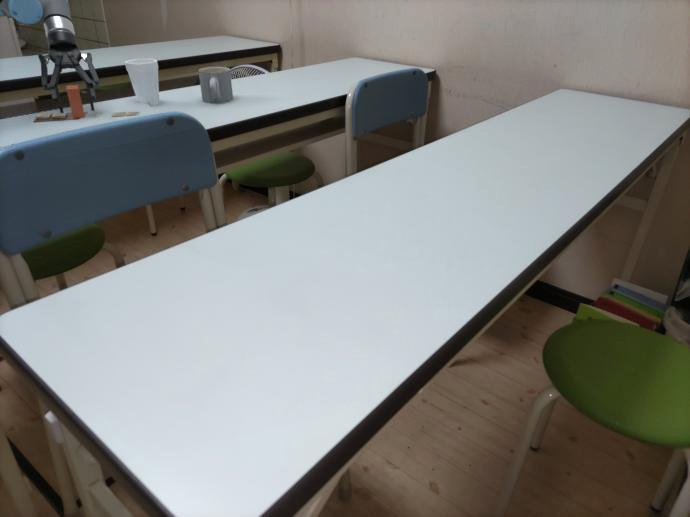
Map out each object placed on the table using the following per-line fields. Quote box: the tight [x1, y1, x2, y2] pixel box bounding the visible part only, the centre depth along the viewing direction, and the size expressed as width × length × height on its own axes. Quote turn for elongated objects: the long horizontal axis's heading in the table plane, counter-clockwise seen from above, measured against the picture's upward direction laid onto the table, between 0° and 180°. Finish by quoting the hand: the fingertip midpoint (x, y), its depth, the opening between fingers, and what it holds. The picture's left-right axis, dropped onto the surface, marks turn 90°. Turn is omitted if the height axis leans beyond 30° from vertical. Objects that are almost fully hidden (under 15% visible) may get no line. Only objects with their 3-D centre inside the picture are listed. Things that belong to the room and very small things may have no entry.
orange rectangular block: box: [65, 84, 86, 119], centre depth 144 cm, size 3×5×8 cm, turn 26°
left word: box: [33, 111, 89, 123], centre depth 145 cm, size 13×8×2 cm, turn 106°
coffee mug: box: [198, 66, 234, 104], centre depth 165 cm, size 13×10×10 cm
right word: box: [96, 111, 140, 118], centre depth 147 cm, size 12×8×2 cm, turn 106°
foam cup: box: [124, 58, 160, 107], centre depth 159 cm, size 10×9×13 cm
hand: (77, 109), depth 142 cm, fingers open, 7 cm apart
